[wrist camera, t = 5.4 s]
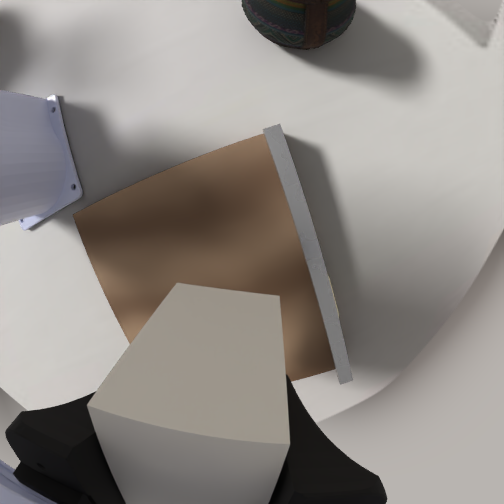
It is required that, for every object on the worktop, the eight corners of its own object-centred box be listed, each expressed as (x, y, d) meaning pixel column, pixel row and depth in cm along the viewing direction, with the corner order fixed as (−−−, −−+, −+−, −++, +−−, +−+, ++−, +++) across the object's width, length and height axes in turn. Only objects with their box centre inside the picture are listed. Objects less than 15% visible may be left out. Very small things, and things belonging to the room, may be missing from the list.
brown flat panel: (80, 212, 21) (72, 214, 20) (278, 131, 19) (278, 128, 18) (170, 396, 25) (166, 405, 24) (344, 356, 23) (347, 365, 22)
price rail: (263, 133, 18) (262, 129, 16) (280, 128, 18) (281, 123, 16) (335, 369, 22) (340, 384, 20) (348, 364, 22) (354, 379, 20)
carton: (178, 399, 15) (134, 519, 7) (176, 282, 13) (86, 404, 5) (260, 411, 15) (253, 541, 7) (280, 295, 13) (292, 444, 5)
